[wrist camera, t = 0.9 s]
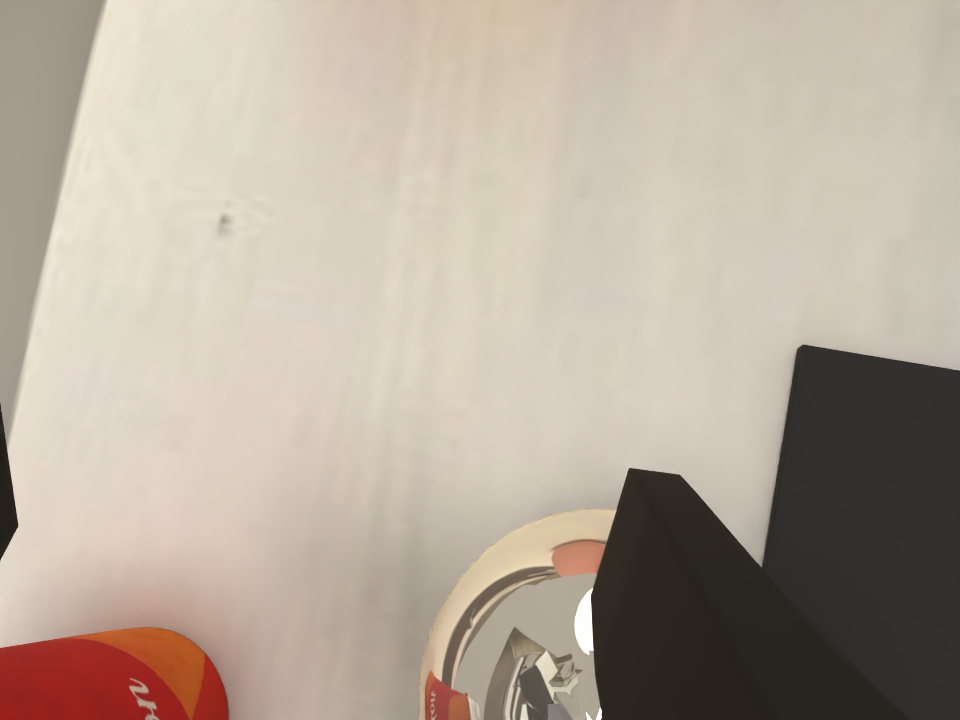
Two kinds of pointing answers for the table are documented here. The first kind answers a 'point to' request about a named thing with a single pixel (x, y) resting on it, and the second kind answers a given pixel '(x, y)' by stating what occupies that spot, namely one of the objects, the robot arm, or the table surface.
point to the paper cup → (111, 678)
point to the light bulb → (520, 627)
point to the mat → (875, 520)
